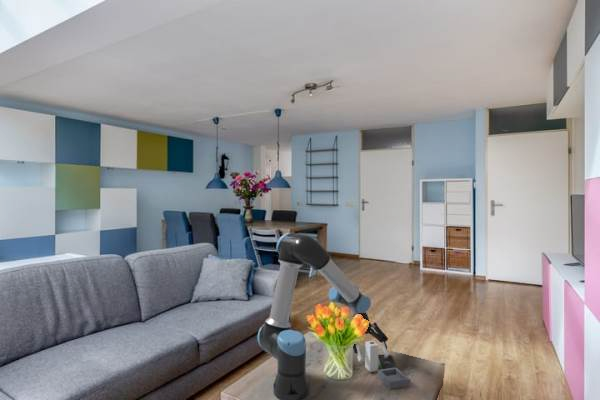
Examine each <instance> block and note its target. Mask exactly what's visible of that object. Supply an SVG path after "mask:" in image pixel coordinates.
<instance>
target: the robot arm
mask: <svg viewBox="0 0 600 400" xmlns="http://www.w3.org/2000/svg"><path fill="white" fill-rule="evenodd" d="M275 247H276V252H277V253H278V255H279V256H278V260H277V261H278V263H279V264H280V265H279V266H280V267H279V271H278V275H277V281H276V284H275V289H274V290H275V291H274V295H273V299H272V303H271V309H270V314H269V317H268V318H267V319H265V321H264V324H262V326H260V327H259V330H258V333H257V337H256V338H257V343H258V345H259V346H260V348H261V349H262V350H263V351H264V352H265V353H267V354H269V355H270V356H271V357H272V358H274V359H275V360H277V372H276V373H277V374H276V375H275V379H274V382H273V387H272V389H273V390H272V391H273V394H274V396H275V397H276V398H277V399H279V400H304V399H305V398H306V397H308V396H309V394H310V391H311V390H310V382H309V380H308V377H307V372H306V369H307V368H306V367H307V366H306V365H307V364H306V362H307V361H306V360H307V359H306V358H307V357H306V356H307V342H306V337H305V335H304V334H303V333H302V332H299V330H298V331H297V330H293V329H291V326H292V325H291V323H290V322H289V319H290V313H291V310H292V309H291V308H292V305H293V299H294V295H295V294H294V293H295V290H296V285H297V281H298V280H297V279H298V274H299V270H300V268H301V267H303V266H304V264H307V265H308V266H310V267H311V268H312V269H313V270H314V271H318V272H319V273H320V274H321V275H322V276H323V278H324V279H325V280H326V281H327V282H328V283H329V285H331V286H332V287H331V288H330V289H329V291H328V293H327V294H328V299H329V300H330V302H333V303H337V304H340V305H343V306H346V307H348V308H349V311H350V314H351V316H352V318H353V317H354V316H355V315H356V314H361V315H362V316H363V318H364V319H366V320H368V321H369V327H368V329H367V331H366V332H365V334H364V335H368V334H369V335H370V336H371V337H373V338H374V339H376V340H377V341H378V342H379V345H380V347H381V350H382V353H383V355H384V356H385V358H387V357H388V356H389V355H390V354H389V353H388V350H387V349H388V346H387V343H386V342H387V341H388V340H389V338H388V337H387V335H386V334H385V333H384V332H383V330H381V328H380V327H379V326H378V324H377V322H373V323H371V322H370V319H369V316H368V313H367V312H368V311H369V309H370V308H371V305H372V303H371V302H372V301H371V299H370V297H369V296H367V295H365V294H362V293H361V292H360V290H359V288H358V286H357V285H355V284H354V283H352V281H351V280H350V279H349V278H348V277H347V276H346V275H345V274H344V273H343V271H342V270H341V269H340V267H338V266H337V264H336V263H335V262H334V261H333V260H332V258H331V254H330V253H329V252H328V251H327V250H326V249H325V247H324V246H323V245H322V244H321V243H320V242H318V240H316V239H315V238H313V237H312V236H309V235H307V234H306V235H305V234H300V233H296V232H287V233H284V234H282V235H281V236H280V237H279V238H278V241H277V243H276V246H275ZM352 349H353V352H354V354H356V357H357V360H358V363H359V362H361V361H362V360H363V357H362V355H361V352H360V347H359V345H358V344H357V343H356V344H354V346H353V348H352Z"/></svg>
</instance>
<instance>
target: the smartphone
mask: <svg viewBox="0 0 600 400" xmlns="http://www.w3.org/2000/svg"><path fill="white" fill-rule="evenodd" d="M388 355H389V356H388V357H387V358H385V356H384V354H378V365H379V366H380V370H382V369H388V368H395V367H396V368H398V367H397V364H396V363H395V360H394V357H393V356H392V355H391V354H388Z"/></svg>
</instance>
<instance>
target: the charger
mask: <svg viewBox="0 0 600 400" xmlns="http://www.w3.org/2000/svg"><path fill="white" fill-rule="evenodd" d="M364 344H365V345H364V347H365V354H364V358H365V359H364V360H365V361H364V363H365V364H364V365H365V368H366V369H367V370H368V371H369V372H370V373H371V372H378V370H379V361H378V355H379V344H378V343H377V342H375V341H374V340H367V341H365V343H364Z"/></svg>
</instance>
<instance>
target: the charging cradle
mask: <svg viewBox="0 0 600 400" xmlns="http://www.w3.org/2000/svg"><path fill="white" fill-rule="evenodd" d="M377 378H378V379H380V381H381V382H382V383H383V384H384V385H385V386H386V387H387V389H389V390H391V389H392V390H393V389H399V388H404V387H405V388H406V387H409V386H410V378H409V377H408V376H406V374H404V373H403V372H402V371H401V370H400V369H399V368H398V367H397V368H396V367H395V368H388V369H378V371H377Z"/></svg>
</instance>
